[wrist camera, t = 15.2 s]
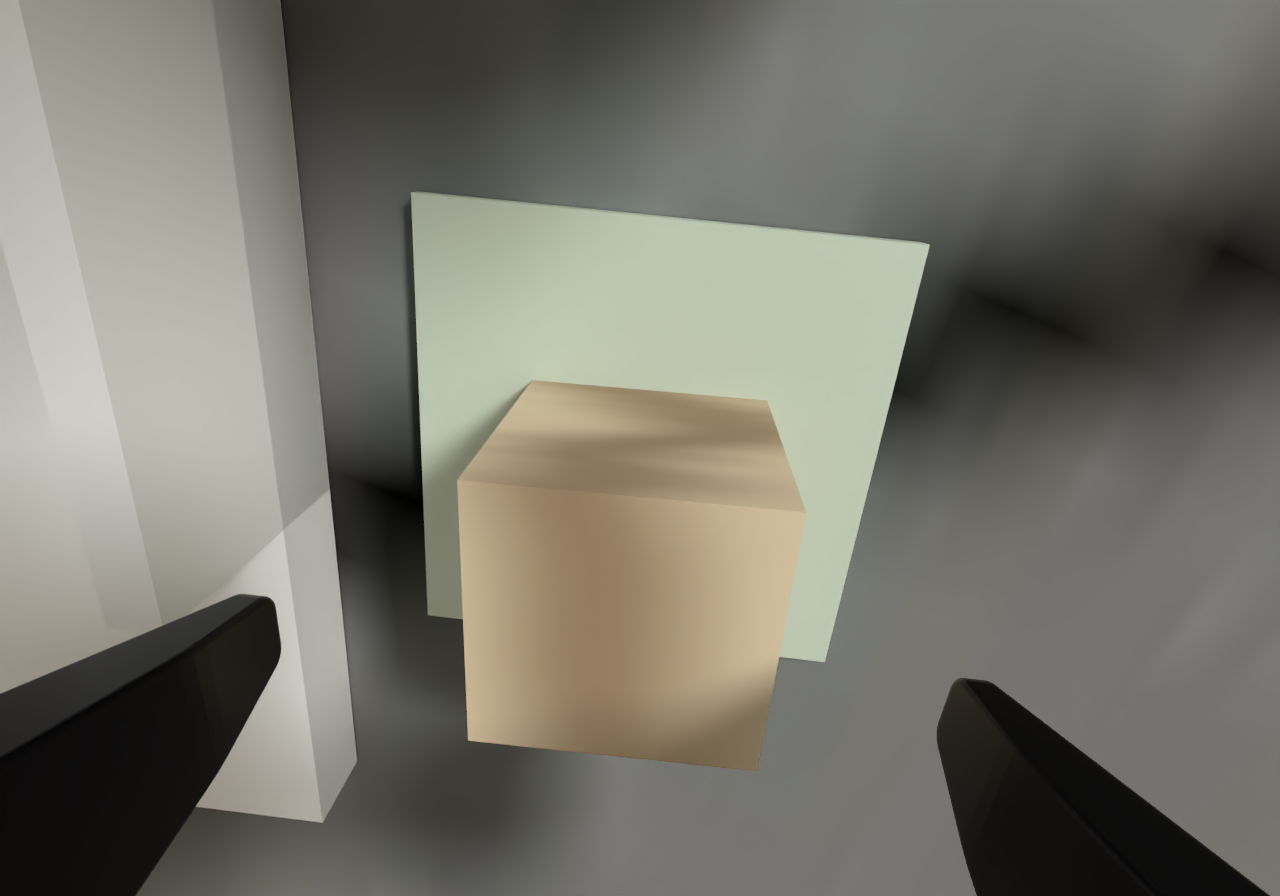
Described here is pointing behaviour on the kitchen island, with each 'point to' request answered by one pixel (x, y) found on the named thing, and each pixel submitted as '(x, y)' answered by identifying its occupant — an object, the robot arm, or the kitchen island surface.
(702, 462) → the maple block
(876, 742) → the kitchen island surface
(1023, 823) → the robot arm
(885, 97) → the kitchen island surface
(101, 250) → the trap channel
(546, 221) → the sage pad
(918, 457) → the kitchen island surface
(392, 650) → the kitchen island surface
